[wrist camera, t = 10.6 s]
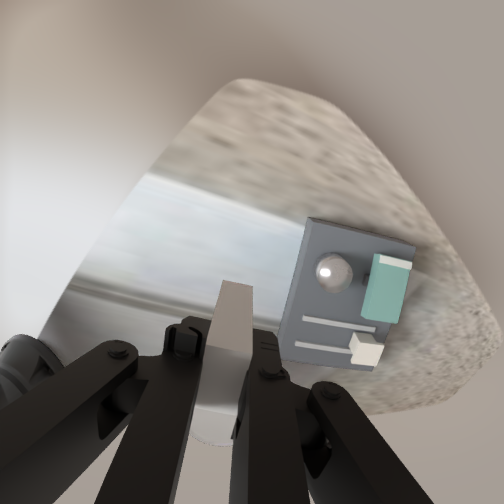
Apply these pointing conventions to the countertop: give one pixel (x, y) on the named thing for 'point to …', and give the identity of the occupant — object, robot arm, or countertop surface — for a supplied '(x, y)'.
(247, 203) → the countertop surface
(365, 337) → the slider
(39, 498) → the robot arm
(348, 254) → the console
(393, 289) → the block
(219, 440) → the coffee cup
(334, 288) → the plunger
